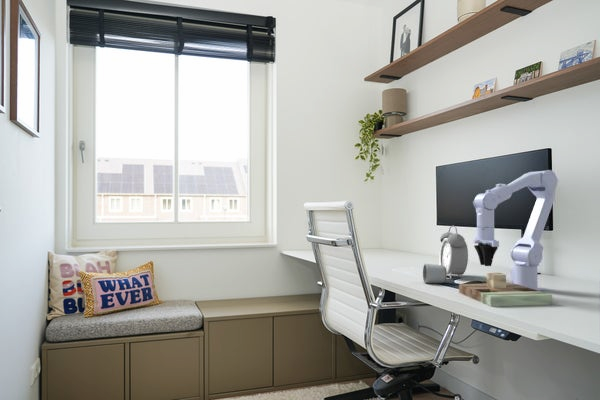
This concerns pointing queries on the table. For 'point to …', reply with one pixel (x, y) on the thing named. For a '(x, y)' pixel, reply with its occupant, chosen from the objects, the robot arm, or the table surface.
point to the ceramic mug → (434, 273)
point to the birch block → (496, 280)
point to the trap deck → (505, 295)
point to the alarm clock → (453, 253)
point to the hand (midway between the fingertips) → (485, 265)
